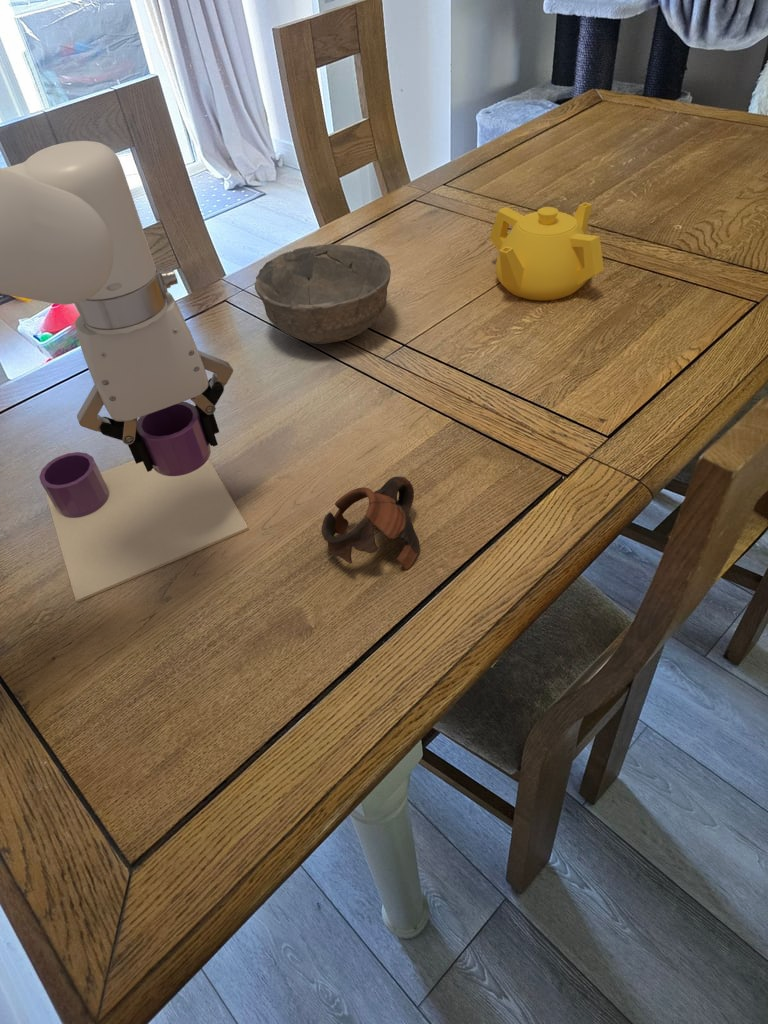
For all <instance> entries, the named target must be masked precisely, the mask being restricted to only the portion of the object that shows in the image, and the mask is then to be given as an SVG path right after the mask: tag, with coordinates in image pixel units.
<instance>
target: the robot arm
mask: <svg viewBox="0 0 768 1024" xmlns="http://www.w3.org/2000/svg"><path fill="white" fill-rule="evenodd" d="M145 233H146V232H145V231H144V227H143V224H142V221H141V219H140V216H139V213H138V210H137V207H136V204H135V201H134V198H133V195H132V192H131V189H130V185H129V183H128V180H127V177H126V174H125V171H124V167H123V166H122V163H121V159H119V157H118V155H117V154H116V152H115V151H114V150H113V149H112V148H110V147H109V146H107V145H106V144H104V143H102V142H98V141H93V140H92V141H91V140H74V141H66V142H61V143H58V144H53V145H50V146H48V147H45V148H42V149H41V150H38V151H36V152H35V153H33V154H32V155H30V156H29V157H28V158H27V159H26V160H25V161H24V162H20V163H17V164H14V165H10V166H6V167H2V168H1V167H0V294H1V295H5V296H12V297H15V298H21V299H22V298H23V299H27V300H32V301H38V302H43V303H49V304H54V305H66V306H67V305H68V306H69V305H74V304H75V305H76V308H77V310H78V313H79V316H78V317H77V318H76V319H75V321H74V323H75V330H76V334H77V338H78V342H79V346H80V349H81V352H82V355H83V359H84V361H85V363H86V366H87V368H88V372H89V373H90V377H91V380H92V382H93V387H92V388H91V390H90V391H89V393H88V395H87V397H86V398H85V400H84V402H83V403H82V405H81V407H80V409H79V411H78V412H77V414H76V419H77V422H78V424H79V426H80V427H83V428H85V429H89V430H91V431H93V432H99V433H101V434H102V435H103V436H106V437H110V438H111V439H116V440H118V441H122V442H123V444H125V445H127V447H128V448H129V451H130V453H131V455H132V457H133V460H135V462H136V464H137V463H140V462H143V463H144V465H145V467H146V470H147V472H149V471H152V469H153V466H152V463H151V461H150V459H149V456H148V454H147V452H146V449H145V447H144V444H143V442H142V440H141V438H140V436H139V434H138V432H137V430H136V427H137V421H138V419H139V418H140V417H142V416H145V415H147V414H150V413H153V412H156V411H159V410H161V409H164V408H167V407H170V406H172V405H175V404H178V403H181V402H187V401H189V400H191V402H192V403H194V406H195V407H196V408H197V410H198V412H199V414H200V418H201V421H202V424H203V426H204V429H205V432H206V435H207V438H208V441H209V444H210V447H216V446H218V441H217V437H216V434H218V433H220V429H219V426H218V423H217V420H216V416H215V414H214V413H215V412H216V409H217V408H216V405H217V404H218V403H219V400H220V398H221V396H222V395H223V393H224V391H225V386H226V385H227V384H228V382H229V380H230V379H231V376H232V375H233V373H234V368H233V366H231V364H230V363H229V361H226V360H223V359H221V358H219V357H216V356H213V355H211V354H208V353H206V352H203V351H201V350H198V347H197V345H196V342H195V340H194V338H193V335H192V333H191V330H190V328H189V327H188V325H187V323H186V320H185V318H184V316H183V313H182V312H181V309H180V307H179V305H178V304H177V303H178V302H177V301H176V300H175V298H174V296H173V295H172V294H171V293H170V292H169V291H168V289H170V288H171V287H172V286H174V285H178V284H179V282H178V278H177V274H176V272H175V271H174V269H173V268H171V269H167V270H165V269H162V270H160V269H159V268H158V267H157V266H156V264H155V261H154V258H153V255H152V251H151V249H150V246H149V243H148V240H147V237H146V234H145ZM206 371H207V372H211V373H212V375H211V376H212V377H210V378H209V377H208V375H207V372H206ZM103 406H104V407H105V409H106V411H107V413H108V415H109V416H110V417H108V416H102V415H100V414H99V413H100V412H101V410H102V409H103Z"/></svg>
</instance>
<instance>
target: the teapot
mask: <svg viewBox="0 0 768 1024" xmlns="http://www.w3.org/2000/svg"><path fill="white" fill-rule="evenodd" d="M592 208H593V204H592V203H589V202H583V203H581V204H578V207H577V209H576V211H575V212H574V214H573V215H571V214H569V213H565V212H562V211H559V209H558V208H556V207H553V206H544V207H541V208H539V209H538V210H537V211H533V212H530V213H526V214H525V215H523V214H521V213H519V212H517V211H515V210H513V209H511V208H509V207H508V206H505V207H502V208H501V209H499V210H498V211H497V213H496V217H495V219H494V222H493V224H492V225H493V226H492V228H491V231H490V234H489V239H490V241H491V242H492V244H493V245H494V246H495V248H496V250H497V252H498V254H497V259H496V262H495V275H496V279H497V280H498V282H500V284H501V285H502V286H503V287H504V288H505V289H506V291H507V292H509V293H511V294H512V295H514V296H516V297H519V298H520V299H525V300H529V301H540V302H544V301H554V300H559V299H560V300H561V299H563V298H567V297H568V296H571V295H573V294H575V292H577V291H578V290H579V289H581V288H582V287H583V286H584V285H585V284H586V283H587V282H588V280H591V278H594V277H595V276H596V275H599V274H600V273H602V272H603V271H604V270H605V267H604V259H603V252H602V242H601V236H600V235H593V234H587V230H588V226H589V223H590V222H589V221H590V217H591V212H592ZM510 226H511V227H512V228H511V229H510V230H509V227H510ZM508 230H509V233H508Z"/></svg>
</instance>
